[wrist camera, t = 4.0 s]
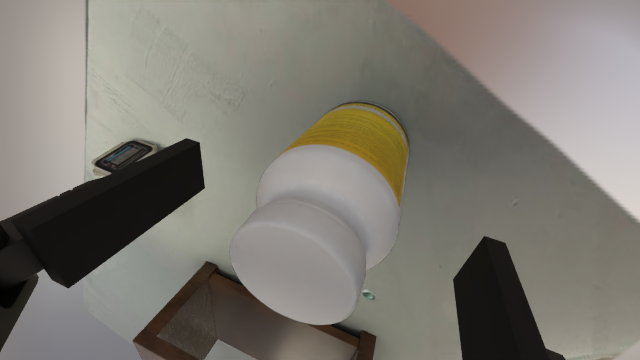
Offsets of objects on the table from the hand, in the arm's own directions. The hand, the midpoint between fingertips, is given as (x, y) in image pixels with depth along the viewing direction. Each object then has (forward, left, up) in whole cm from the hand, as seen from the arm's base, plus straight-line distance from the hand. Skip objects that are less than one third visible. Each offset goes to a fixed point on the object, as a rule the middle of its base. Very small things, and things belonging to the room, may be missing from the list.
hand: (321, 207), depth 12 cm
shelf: (+4, +29, -8) cm, 30 cm away
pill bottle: (0, 0, -8) cm, 8 cm away
